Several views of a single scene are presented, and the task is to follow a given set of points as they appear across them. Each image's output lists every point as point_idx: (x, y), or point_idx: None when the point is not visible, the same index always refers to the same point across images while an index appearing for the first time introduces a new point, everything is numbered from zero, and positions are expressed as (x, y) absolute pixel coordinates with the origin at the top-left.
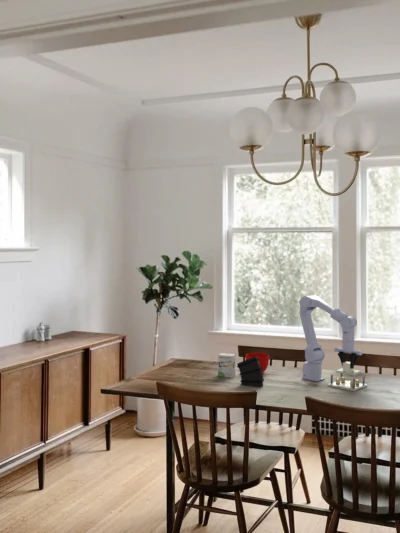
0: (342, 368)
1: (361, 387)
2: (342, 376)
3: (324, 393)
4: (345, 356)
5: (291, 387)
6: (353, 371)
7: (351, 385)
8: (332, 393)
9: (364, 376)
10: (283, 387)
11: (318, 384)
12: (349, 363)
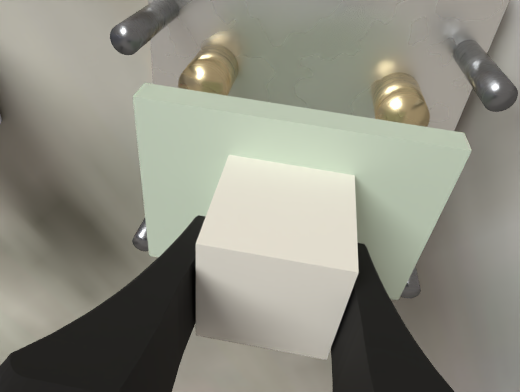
0: (154, 142)
1: (451, 127)
2: (161, 22)
3: (253, 356)
4: (155, 360)
5: (42, 327)
6: (368, 228)
7: None
8: None
9: (511, 99)
10: (19, 341)
11: (82, 195)
12: (309, 339)
